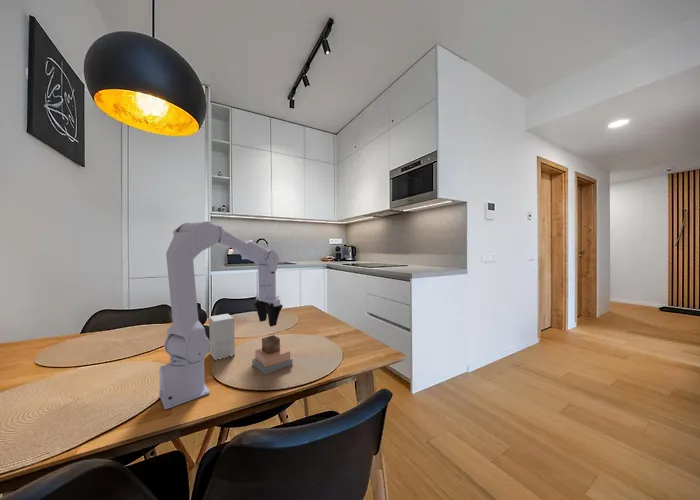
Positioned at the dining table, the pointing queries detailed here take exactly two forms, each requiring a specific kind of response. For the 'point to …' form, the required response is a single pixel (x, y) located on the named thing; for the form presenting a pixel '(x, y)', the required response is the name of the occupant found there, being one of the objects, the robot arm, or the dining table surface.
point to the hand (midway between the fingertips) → (267, 323)
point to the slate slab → (270, 368)
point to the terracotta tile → (272, 357)
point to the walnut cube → (270, 344)
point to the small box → (221, 336)
